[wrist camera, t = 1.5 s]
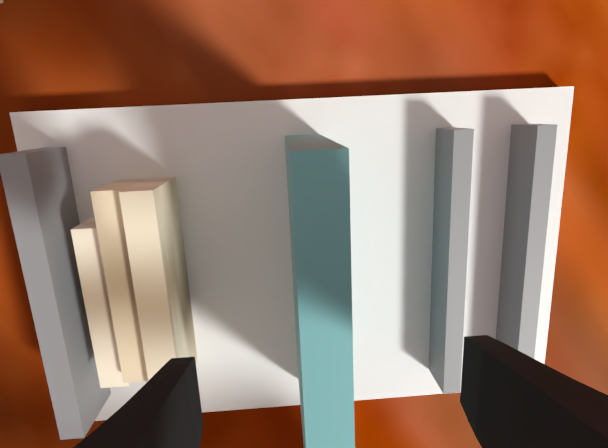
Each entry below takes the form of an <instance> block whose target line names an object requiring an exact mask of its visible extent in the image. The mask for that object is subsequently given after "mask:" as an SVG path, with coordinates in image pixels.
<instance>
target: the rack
mask: <svg viewBox="0 0 608 448" xmlns="http://www.w3.org/2000/svg"><path fill="white" fill-rule="evenodd" d="M573 93H574V86H569V87H547V88H526V89H504V90H482V91H461V92H439V93H417V94H396V95H374V96H352V97H331V98H309V99H287V100H266V101H244V102H222V103H200V104H179V105H157V106H135V107H114V108H92V109H70V110H49V111H27V112H9V113H10V118H11V123H12V128H13V132H14V137H15V142H16V146H17V152H10V153H3V154H0V173H1V178H2V182H3V186H4V191H5V195H6V200H7V204H8V209H9V213H10V218H11V222H12V227H13V231H14V236H15V240H16V244H17V249H18V253H19V258H20V262H21V267H22V271H23V276H24V280H25V285H26V289H27V293H28V298H29V302H30V307H31V311H32V316H33V320H34V325H35V329H36V334H37V338H38V343H39V347H40V351H41V356H42V360H43V365H44V369H45V374H46V378H47V383H48V387H49V392H50V396H51V401H52V405H53V409H54V414H55V418H56V423H57V427H58V432H59V436H60V440H65V439H78V438H85V436H86V434H87V433H88V431H89V429H90V428H91V426H92V424H93V423H94V421H102V420H107V419H108V418H110V417H111V416H112V415H113V414H114V413H115V412H116V411H117V410H119V409H120V408H121V407H122V406H123V405H124V404H125V403H126V402H127V401H128V400H129V399H130V398H131V397H132V396H133V395H135V394H136V393H137V392H138V391H139V390H140V389H141V388H142V387H143V386H144V385H145V384H146V383H147V382H148V381H142V382H131V384H130V386H123V387H110V388H100V383H99V377H98V372H97V367H96V362H95V356H94V351H93V346H92V340H91V335H90V330H89V325H88V319H87V314H86V309H85V303H84V298H83V293H82V288H81V282H80V277H79V272H78V267H77V261H76V256H75V251H74V245H73V240H72V235H71V229H72V228H74V227H76V226H78V225H79V224H81V223H83V222H85V221H87V220H88V219H90V218H92V217H94V211H93V205H92V199H91V193H90V191H93V190H95V189H98V188H100V187H102V186H105V185H107V184H110V183H112V182H114V181H117V180H119V179H137V178H156V177H174V176H175V177H176V185H177V193H178V201H179V210H180V218H181V226H182V234H183V242H184V251H185V259H186V267H187V275H188V283H189V292H190V300H191V308H192V316H193V324H194V333H195V341H196V349H197V357H198V361H197V364H196V370H197V378H198V386H199V394H200V401H201V409H202V413H203V412H216V411H229V410H241V409H254V408H266V407H279V406H292V405H300V393H299V380H298V363H297V345H296V327H295V309H294V292H293V274H292V256H291V238H290V221H289V203H288V185H287V167H286V150H285V136H291V135H311V134H320V135H322V136H324V137H326V138H329V139H331V140H333V141H335V142H337V143H339V144H341V145H343V146H345V147H347V148H349V174H350V225H351V276H352V327H353V379H354V401H355V400H367V399H380V398H393V397H405V396H418V395H430V394H449V393H460V392H461V380H462V364H463V348H464V337H466V336H479V335H488V336H490V337H492V338H495V339H497V340H499V341H501V342H503V343H505V344H507V345H509V346H511V347H513V348H514V349H516V350H518V351H520V352H522V353H524V354H526V355H528V356H530V357H531V358H533V359H535V360H537V361H539V362H541V363H543V364H545V355H546V346H547V336H548V327H549V318H550V308H551V299H552V289H553V280H554V271H555V261H556V252H557V243H558V233H559V224H560V214H561V205H562V196H563V186H564V177H565V168H566V158H567V149H568V140H569V130H570V121H571V111H572V102H573Z"/></svg>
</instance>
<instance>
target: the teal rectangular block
mask: <svg viewBox="0 0 608 448" xmlns="http://www.w3.org/2000/svg"><path fill="white" fill-rule="evenodd" d="M285 150H286V167H287V185H288V203H289V221H290V238H291V256H292V274H293V292H294V309H295V327H296V345H297V363H298V380H299V393H300V405H301V418H302V431H303V443H304V448H355V430H354V379H353V327H352V276H351V225H350V174H349V148H347V147H345V146H343V145H341V144H339V143H337V142H335V141H333V140H331V139H329V138H326V137H324V136H322V135H320V134H311V135H291V136H285Z"/></svg>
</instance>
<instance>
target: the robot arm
mask: <svg viewBox="0 0 608 448" xmlns="http://www.w3.org/2000/svg"><path fill="white" fill-rule="evenodd" d="M460 402H461V405H462V407H463V409H464V412H465V414H466V416H467V419H468V421H469V423H470V425H471V427H472V429H473V432H474V434H475V436H476V438H477V440H478V441H479V443H480V445H481V446H482V448H608V395H606V394H604V393H601V392H599V391H597V390H595V389H593V388H591V387H589V386H587V385H584V384H582V383H580V382H578V381H576V380H574V379H572V378H570V377H568V376H566V375H564V374H562V373H560V372H558V371H556V370H554V369H552V368H550V367H548V366H547V365H545V364H543V363H541V362H539V361H537V360H535V359H533V358H531V357H530V356H528V355H526V354H524V353H522V352H520V351H518V350H516V349H514V348H513V347H511V346H509V345H507V344H505V343H503V342H501V341H499V340H497V339H495V338H492V337H490V336H488V335H479V336H466V337H464V348H463V364H462V380H461V396H460ZM202 428H203V417H202V409H201V401H200V394H199V386H198V378H197V370H196V362H195V357H184V358H171V359H170V360H169V361H168V362H167V363H166V364H165V365H164V366H163V367H162V368H161V369H160V370H159V371H158V372H157V373H156V374H155V375H154V376H153V377H152V378H151V379H150V380H149V381H148V382H147V383H146V384H145V385H144V386H143V387H142V388H141V389H140V390H139V391H138V392H137V393H136V394H135V395H133V396H132V397H131V398H130V399H129V400H128V401H127V402H126V403H125V404H124V405H123V406H122V407H121V408H120V409H119V410H117V411H116V412H115V413H114V414H113V415H112V416H111V417H110V418H108V419H107V420H106V421H105V422H104V423H103V424H102V425H100V426H99V427H98V428H97V429H96V430H95V431H94V432H92V433H91V434H90V435H89V436H88V437H86V438H85V439H84V440H83V441H81V442H80V443H79V444H78V445H76V446H75V447H74V448H200V443H201V435H202Z"/></svg>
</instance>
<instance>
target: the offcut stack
mask: <svg viewBox="0 0 608 448" xmlns="http://www.w3.org/2000/svg"><path fill="white" fill-rule="evenodd" d="M90 193H91V199H92V205H93V211H94V217H92V218H90V219H88V220H87V221H85V222H83V223H81V224H79V225H78V226H76V227H74V228H72V229H71V235H72V240H73V245H74V251H75V256H76V261H77V267H78V272H79V277H80V282H81V288H82V293H83V298H84V303H85V309H86V314H87V319H88V325H89V330H90V335H91V340H92V346H93V351H94V356H95V362H96V367H97V372H98V377H99V383H100V388H110V387H123V386H130V384H131V382H142V381H149V380H150V379H151V378H152V377H153V376H154V375H155V374H156V373H157V372H158V371H159V370H160V369H161V368H162V367H163V366H164V365H165V364H166V363H167V362H168V361H169V360H170V359H171V358H184V357H195V362H196V364H197V361H198V357H197V349H196V341H195V333H194V324H193V316H192V308H191V300H190V292H189V283H188V275H187V267H186V259H185V251H184V242H183V234H182V226H181V218H180V210H179V201H178V193H177V185H176V177H175V176H174V177H156V178H137V179H119V180H117V181H114V182H112V183H110V184H107V185H105V186H102V187H100V188H98V189H95V190H93V191H90Z"/></svg>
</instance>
